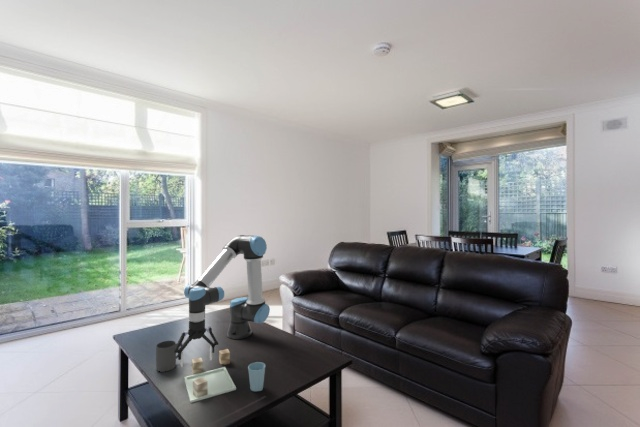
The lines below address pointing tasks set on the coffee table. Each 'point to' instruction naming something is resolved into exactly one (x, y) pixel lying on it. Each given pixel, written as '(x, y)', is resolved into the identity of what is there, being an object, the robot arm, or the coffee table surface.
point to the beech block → (197, 365)
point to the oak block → (224, 356)
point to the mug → (166, 356)
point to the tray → (211, 383)
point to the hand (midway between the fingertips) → (196, 362)
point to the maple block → (200, 387)
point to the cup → (256, 375)
